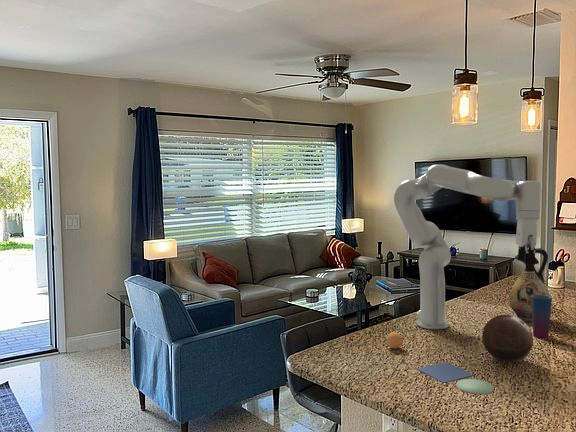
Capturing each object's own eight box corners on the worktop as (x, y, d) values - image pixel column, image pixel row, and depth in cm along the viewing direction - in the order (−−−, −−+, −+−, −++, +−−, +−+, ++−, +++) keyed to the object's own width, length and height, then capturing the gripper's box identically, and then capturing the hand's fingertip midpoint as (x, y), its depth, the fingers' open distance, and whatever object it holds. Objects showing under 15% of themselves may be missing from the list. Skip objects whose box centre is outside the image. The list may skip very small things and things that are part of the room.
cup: (553, 339, 183) (554, 299, 182) (533, 338, 184) (534, 298, 183) (547, 334, 190) (548, 294, 188) (528, 333, 191) (529, 294, 190)
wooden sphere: (535, 372, 153) (536, 323, 152) (482, 366, 159) (482, 319, 157) (530, 355, 167) (530, 311, 166) (481, 351, 173) (482, 308, 172)
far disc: (448, 383, 146) (448, 382, 146) (474, 377, 150) (474, 376, 150) (474, 396, 137) (474, 396, 137) (501, 389, 141) (501, 388, 141)
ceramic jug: (509, 322, 205) (510, 249, 203) (508, 312, 219) (509, 244, 217) (556, 326, 199) (558, 251, 197) (552, 316, 213) (554, 245, 211)
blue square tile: (416, 369, 158) (416, 368, 158) (446, 362, 163) (446, 362, 163) (443, 383, 147) (443, 382, 147) (474, 375, 152) (474, 374, 152)
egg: (383, 347, 179) (383, 331, 178) (396, 344, 181) (396, 329, 181) (393, 351, 174) (393, 335, 173) (406, 349, 176) (406, 333, 175)
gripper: (511, 213, 191) (509, 258, 192) (522, 217, 174) (520, 266, 175) (532, 213, 189) (530, 258, 191) (546, 217, 172) (544, 266, 174)
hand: (526, 262), depth 183 cm, fingers open, 9 cm apart
